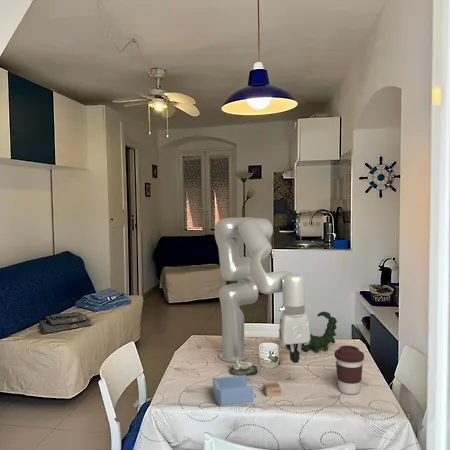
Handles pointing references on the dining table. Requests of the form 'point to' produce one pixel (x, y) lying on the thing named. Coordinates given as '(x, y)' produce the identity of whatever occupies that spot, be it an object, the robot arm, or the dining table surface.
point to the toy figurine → (327, 337)
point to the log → (243, 369)
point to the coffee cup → (349, 369)
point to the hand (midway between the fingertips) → (294, 361)
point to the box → (232, 390)
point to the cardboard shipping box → (271, 389)
